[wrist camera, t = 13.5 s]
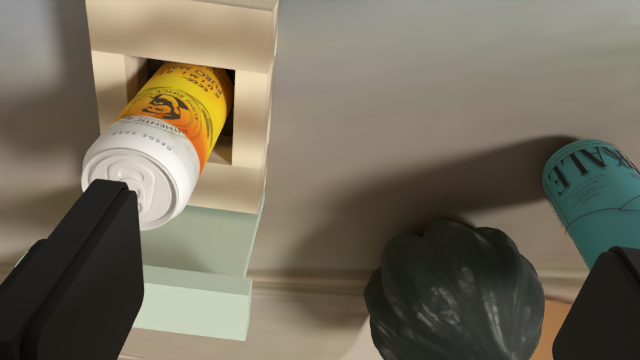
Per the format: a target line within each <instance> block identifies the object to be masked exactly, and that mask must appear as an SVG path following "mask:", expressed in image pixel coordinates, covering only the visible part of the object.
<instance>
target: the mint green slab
mask: <svg viewBox="0 0 640 360" xmlns="http://www.w3.org/2000/svg"><path fill="white" fill-rule="evenodd" d="M264 196H265V190H264V192H263V195H262V199H261V203H260V207H259V211H258V214H253V213H245V212H237V211H230V210H222V209H214V208H206V207H199V206H191V205H186V206H185V208H184V209H183V210H182V212H181V213H180V214H178V215H177V216H176V217H174V218H172V219H171V220H169V221H168V222H166V223H165V224H163V225H162V226H160V227H157V228H154V229H151V230H141V231H140V237H141V251H142V264H143V277H144V298H143V303H142V306H141V308H140V311H139V313H138V315H137V317H136V319H135V321H134V324H133V326H132V327H136V328H144V329H152V330H161V331H169V332H177V333H185V334H193V335H201V336H209V337H217V338H225V339H233V340H241V341H245V340H246V335H247V331H248V326H249V317H250V303H251V289H252V279H250V278H245V276H246V272H247V268H248V264H249V260H250V256H251V252H252V248H253V245H254V241H255V237H256V233H257V229H258V225H259V221H260V217H261V213H262V209H263V205H264ZM28 251H29V250H28ZM28 251H27V252H28ZM27 252H26V253H27ZM26 253H25V254H26ZM25 254H24V256H25ZM24 256H23V257H24ZM23 257H22V258H23ZM22 258H21V259H22ZM21 259H20V260H19V262H20V261H21ZM19 262H18V263H19ZM18 263H17V264H18ZM17 264H16V265H15V267H16V266H17Z"/></svg>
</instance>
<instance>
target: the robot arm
mask: <svg viewBox="0 0 640 360" xmlns="http://www.w3.org/2000/svg"><path fill="white" fill-rule="evenodd" d="M143 298H144V277H143V264H142V251H141V237H140V224H139V211H138V198H137V193H136V191H134V190H129V187H128V185H127V183H126V182H121V181H113V180H106V179H95V180H93V181H92V183H91V184H90V185H89V186H88V188H87V189H86V190H85V191H84V193H83V194H82V195H81V196H80V198H79V199H78V200H77V202H76V203H75V204H74V205H73V207H72V208H71V209H70V210H69V212H68V213H67V214H66V215H65V217H64V218H63V219H62V221H61V222H60V223H59V224H58V226H57V227H56V228H55V229H54V231H53V232H52V233H51V234H50V236H49V237H48V238H47V239H41V240H39V241H37V242H36V243H35V244H34V245H33V246H32V247H31V248H30V249H29V251H28V252H27V253H26V254H25V256H24V257H23V258H22V259H21V261H20V262H19V263H18V264H17V266H16V267H15V268H14V269H13V270H12V272H11V273H10V274H9V275H8V277H7V278H6V279H5V280H4V282H3V283H2V284H1V285H0V360H117V358H118V356H119V354H120V352H121V349H122V347H123V345H124V343H125V341H126V339H127V337H128V334H129V332H130V330H131V328H132V326H133V324H134V321H135V319H136V317H137V315H138V313H139V311H140V308H141V306H142V303H143ZM552 354H553V359H554V360H640V249H637V248H629V247H621V246H612V247H611V248H610V249H608V251H607V252H602V253H601V254H600V255H599V256H598V258H597V259H596V261H595V263H594V265H593V267H592V269H591V271H590V273H589V275H588V277H587V279H586V281H585V282H584V284H583V286H582V288H581V290H580V292H579V294H578V296H577V298H576V300H575V302H574V303H573V305H572V307H571V309H570V312H569V313H568V315H567V317H566V319H565V321H564V323H563V325H562V327H561V328H560V330H559V332H558V334H557V336H556V338H555V340H554V342H553V347H552Z"/></svg>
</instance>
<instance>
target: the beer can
mask: <svg viewBox="0 0 640 360" xmlns="http://www.w3.org/2000/svg"><path fill="white" fill-rule="evenodd" d="M233 102H234V88H233V84H232V82H231V79H230V77H229V76H228V74H227V73H226V71H225V70H224V69H223V68H218V67H211V66H204V65H196V64H189V63H181V62H174V61H166V62H165V63H164V64H163V65H162V66H161V67H160V68H159V70H158V71H157V72H156V73H155V74H154V75H153V76H152V77H151V79H150V80H149V81H148V82H147V83H146V84H145V85H144V87H143V88H142V89H141V90H140V91H139V92H138V93H137V95H136V96H135V97H134V98H133V99H132V100H131V101H130V102H129V104H128V105H127V106H126V107H125V108H124V109H123V110H122V112H121V113H120V114H119V115H118V116H117V117H116V118H115V120H114V121H113V122H112V123H111V124H110V125H109V126H108V127H107V129H106V130H105V131H104V132H103V133H102V134H101V135H100V137H99V138H98V139H97V140H96V141H95V142H94V143H93V145H92V146H91V147H90V148H89V149H88V151H87V153H86V155H85V157H84V161H83V172H82V176H81V186H82V191H83V193H84V191H85V190H86V189H87V188H88V186H89V185H90V184H91V183H92V181H93V180H95V179H106V180H113V181H121V182H126V183H127V185H128V187H129V190H134V191H136V193H137V198H138V211H139V224H140V231H141V230H151V229H154V228H157V227H160V226H162V225H163V224H165V223H166V222H168V221H169V220H171V219H172V218H174V217H176V216H177V215H178V214H180V213H181V212H182V210H183V209H184V208H185V206H186V205H187V203H188V201H189V198H190V196H191V194H192V192H193V190H194V188H195V186H196V183H197V181H198V179H199V177H200V175H201V173H202V171H203V168H204V166H205V164H206V162H207V160H208V158H209V156H210V153H211V151H212V149H213V147H214V145H215V143H216V141H217V138H218V136H219V134H220V132H221V130H222V128H223V126H224V123H225V121H226V119H227V117H228V115H229V113H230V111H231V108H232V106H233Z"/></svg>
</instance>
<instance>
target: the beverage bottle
mask: <svg viewBox="0 0 640 360" xmlns="http://www.w3.org/2000/svg"><path fill="white" fill-rule="evenodd" d="M610 144H611V143H610ZM610 144H608V142H607V143H605V142H603V141H599V140H591V139H589V140H579V141H576V142H572V143H570V144H568V145H566V146H564V147H562V148H560V149H559V150H558V151H556V152H555V153H554V154H553V155H552V156H551V157H550V159H549V160H548V161H547V163H546V165H545V167H544V170H543V175H542V180H541V183H542V184H541V187H542V185H543V189H544V191H545V193H546V195H547V196H546V195H545V194H544V195H545V196H546V197H547V199H548V200H549V202H551V204H552V206H553V208H554V209H555V212H556V213H557V215H558V216H559V218H560V220H561V222H562V224H563V225H564V227H565V229H566V231H567V232H568V234H569V236H570V237H571V238H572V240H573V241H574V243H575V245H576V247H577V249H578V250H579V252H580V254H581V256H582V258H583V259H584V261H585V263H586V265H587V267H588V268H589V270H590V271H591V269H592V267H593V265H594V263H595V261H596V259H597V258H598V256H599V255H600V254H601V253H602V252H607V251H608V249H610V248H611V247H612V246H621V247H629V248H637V249H640V173H639V171H638V170H637V169H636V166H635V165H634V164H632V162H631V161H630V162H631V164H632V165H633V166H634V167H635V169H636V170H635V169H634V168H633V167H632V166H631V164H630V163H629V162H628V161H627V160H626V159H628V158H626V159H625V158H624V157H623V155H622V154H621V153H620V152H619V151H618V150H617V149H616V148H615V147H613V146H612V145H613V144H612V145H610ZM614 146H615V145H614ZM617 148H618V147H617ZM621 152H622V151H621ZM625 157H626V156H625ZM638 173H639V174H638ZM544 191H542V192H544ZM547 199H546V200H547ZM552 206H551V207H552ZM555 212H554V213H555ZM555 216H556V215H555ZM558 220H559V219H558ZM562 224H560V225H562ZM563 225H562V226H563ZM566 231H565V232H566ZM565 234H566V233H565Z"/></svg>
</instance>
